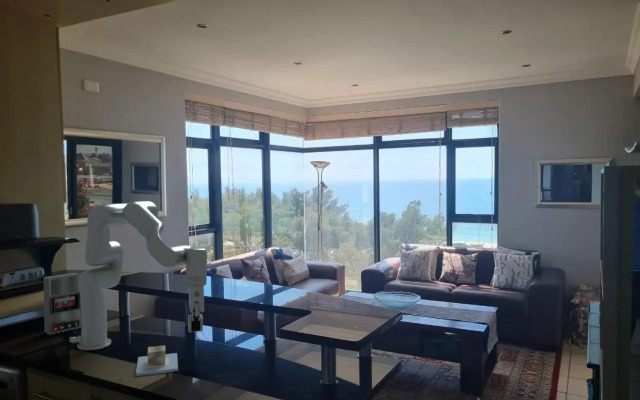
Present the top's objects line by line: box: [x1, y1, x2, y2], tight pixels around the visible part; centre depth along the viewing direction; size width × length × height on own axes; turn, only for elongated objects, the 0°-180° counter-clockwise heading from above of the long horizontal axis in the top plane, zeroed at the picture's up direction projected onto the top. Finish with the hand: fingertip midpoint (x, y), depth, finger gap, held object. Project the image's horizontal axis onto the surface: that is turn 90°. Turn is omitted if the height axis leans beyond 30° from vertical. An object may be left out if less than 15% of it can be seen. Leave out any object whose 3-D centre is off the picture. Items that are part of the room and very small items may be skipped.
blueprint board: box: [135, 352, 179, 377], centre depth 175 cm, size 14×16×1 cm
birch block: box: [147, 345, 166, 366], centre depth 175 cm, size 6×6×5 cm
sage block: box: [187, 313, 204, 333], centre depth 179 cm, size 5×5×5 cm
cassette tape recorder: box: [43, 272, 81, 336], centre depth 214 cm, size 14×6×25 cm, turn 141°
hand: (195, 328), depth 179 cm, fingers closed on sage block, 4 cm apart
